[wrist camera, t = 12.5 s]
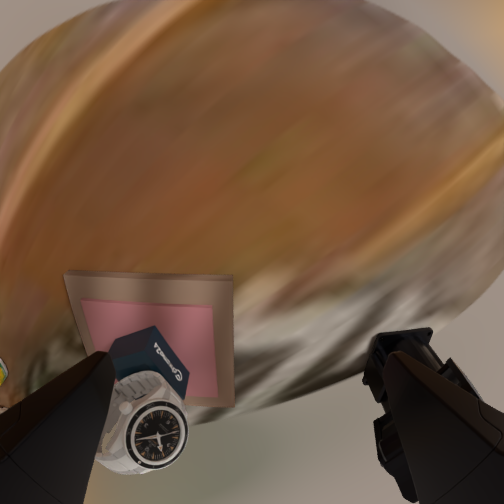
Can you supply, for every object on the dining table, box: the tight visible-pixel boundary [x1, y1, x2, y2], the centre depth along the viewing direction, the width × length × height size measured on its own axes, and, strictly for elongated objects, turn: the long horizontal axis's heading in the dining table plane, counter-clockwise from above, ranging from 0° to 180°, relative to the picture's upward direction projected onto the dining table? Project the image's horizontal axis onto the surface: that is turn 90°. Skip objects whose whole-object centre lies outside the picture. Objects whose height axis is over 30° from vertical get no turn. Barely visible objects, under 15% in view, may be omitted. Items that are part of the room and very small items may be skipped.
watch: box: [95, 325, 190, 475], centre depth 17 cm, size 6×8×11 cm
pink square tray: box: [63, 270, 235, 407], centre depth 23 cm, size 14×14×1 cm
